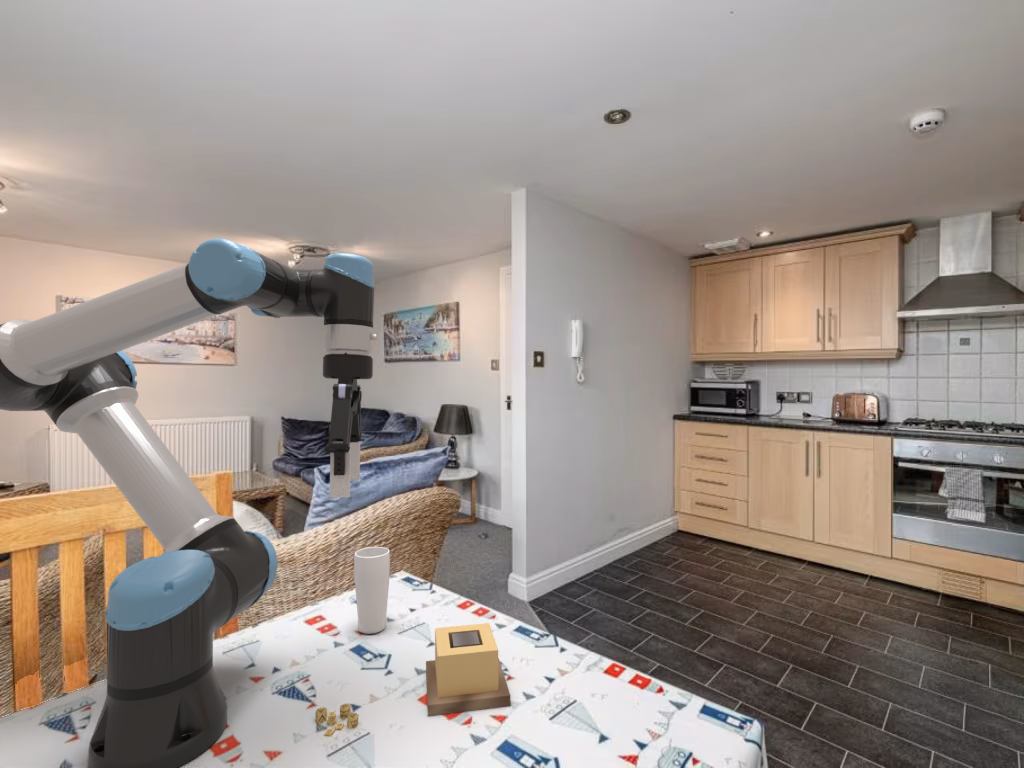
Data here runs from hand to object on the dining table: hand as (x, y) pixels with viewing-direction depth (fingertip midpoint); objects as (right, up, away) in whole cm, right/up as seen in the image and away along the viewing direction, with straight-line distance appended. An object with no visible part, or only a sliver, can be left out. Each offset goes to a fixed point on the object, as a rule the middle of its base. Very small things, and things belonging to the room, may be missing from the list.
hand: (346, 488), depth 80 cm
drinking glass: (-1, -32, +19) cm, 37 cm away
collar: (+19, -30, -1) cm, 35 cm away
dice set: (+2, -32, -9) cm, 33 cm away
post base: (+19, -31, -1) cm, 36 cm away
